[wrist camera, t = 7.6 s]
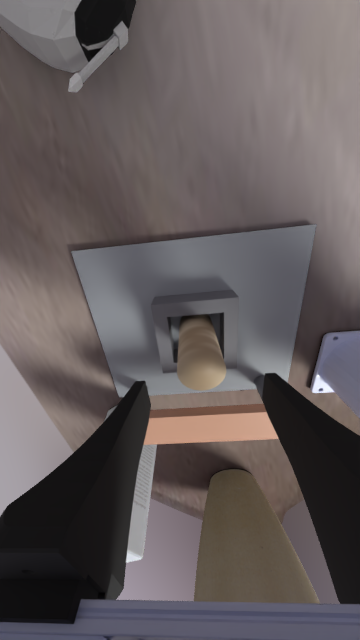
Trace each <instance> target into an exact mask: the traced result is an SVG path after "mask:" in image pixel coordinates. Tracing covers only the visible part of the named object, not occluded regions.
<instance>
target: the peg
mask: <svg viewBox="0 0 360 640" xmlns="http://www.w3.org/2000/svg"><path fill="white" fill-rule="evenodd" d="M177 375H178V378H179V380H180V381H181V383H182V384H183V385H185V386H186V387H188V388H190V389H193V390H199V391H203V390H209V389H212V388H214V387H216V386H218V385H219V384H220V383H221V382H222V381H223V380H224V378H225V376H226V365H225V362H224V359H223V356H222V353H221V349H220V346H219V343H218V340H217V337H216V333H215V330H214V327H213V324H212V321H211V318H210V316H209V315H208V314H199V315H188V316H182V318H181V320H180V324H179V344H178V363H177Z"/></svg>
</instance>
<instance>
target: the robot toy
mask: <svg viewBox="0 0 360 640" xmlns="http://www.w3.org/2000/svg"><path fill="white" fill-rule="evenodd" d="M135 4H136V0H0V27H1V28H2V29H3V30H4V31H5V32H6V33H8V34H9V35H10V36H11V37H12V38H13V39H14V40H15V41H16V42H17V43H19V44H20V45H21V46H22V47H23V48H24V49H26V50H27V51H29V52H30V53H31V54H33V55H34V56H35V57H37V58H38V59H40V60H41V61H42V62H44V63H46V64H48V65H49V66H51V67H53V68H56V69H60V70H64V71H68V72H71V73H74V72H76V73H75V74H74V75H73V76H72V77H71V78H70V81H69V89H68V91H69V92H78V91H79V90H80V89H81V88H82V87H83V83H84V82H85V81H86V79H87V78H88V77H89V76H90V75H91V74H92V73H93V72H94V71H95V70H96V69H97V68H98V67H99V66H100V65H101V64H102V63H103V62H104V61H105V60H106V59H107V57H108V56H110V55H112V54H113V52H114V50H115V49H116V48H117V47H118V48H119V50H121V49H122V48H123V47H124V46H125V45H126V44H127V43H128V28H129V26H130V22H131V18H132V14H133V11H134V7H135ZM80 70H81V71H80ZM77 71H80V72H79V73H77Z"/></svg>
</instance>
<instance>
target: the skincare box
mask: <svg viewBox="0 0 360 640" xmlns="http://www.w3.org/2000/svg"><path fill="white" fill-rule="evenodd" d="M116 407H117V406H115V407H113V408H112V409H110V410H109V411H108V413H107V415H106V418H105V420H106V419H107V418H108V416H109V415H110V414H111V413H112V412H113V410H114V409H115V408H116ZM105 420H104V421H105ZM156 449H157V444H151V445H143V449H142V453H141V457H140V462H139V467H138V472H137V478H136V485H135V492H134V499H133V507H132V514H131V522H130V531H129V539H128V548H127V558H126V563H127V562H131V561H136V560H140V559H142V558H143V554H144V545H145V536H146V528H147V520H148V511H149V504H150V496H151V488H152V480H153V472H154V464H155V456H156Z"/></svg>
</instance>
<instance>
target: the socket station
mask: <svg viewBox="0 0 360 640" xmlns="http://www.w3.org/2000/svg"><path fill="white" fill-rule="evenodd" d="M316 225H317V224H313V225H303V226H294V227H285V228H276V229H267V230H258V231H249V232H240V233H231V234H222V235H213V236H204V237H195V238H186V239H177V240H168V241H159V242H150V243H140V244H131V245H122V246H113V247H104V248H95V249H86V250H77V251H71V253H72V256H73V259H74V262H75V265H76V268H77V271H78V274H79V277H80V280H81V283H82V286H83V289H84V292H85V295H86V298H87V301H88V305H89V308H90V311H91V314H92V317H93V320H94V323H95V326H96V329H97V332H98V335H99V338H100V341H101V344H102V347H103V350H104V353H105V356H106V359H107V362H108V365H109V368H110V371H111V374H112V377H113V381H114V384H115V387H116V390H117V393H118V396H119V397H124V396H125V395H126V393H127V392H128V391H129V389H130V388H131V386H132V385H133V384H134V382H135V381H145V382H146V386H147V390H148V394H149V396H151V395H167V394H184V393H200V392H217V391H233V390H250V389H257V390H258V392H259V394H260V396H261V399H262V393H263V385H264V376H265V373H276V374H278V375H279V376H280V377H281V378H282V379H284V380H285V381H286V382H288V377H289V371H290V366H291V360H292V355H293V350H294V344H295V339H296V333H297V328H298V322H299V317H300V312H301V306H302V301H303V295H304V290H305V285H306V279H307V274H308V268H309V263H310V257H311V252H312V247H313V241H314V236H315V230H316ZM199 314H208V315H209V316H210V318H211V321H212V324H213V327H214V330H215V333H216V337H217V340H218V343H219V346H220V349H221V353H222V356H223V359H224V362H225V365H226V376H225V378H224V380H223V381H222V382H221V383H220V384H219V385H218V386H216V387H214V388H212V389H209V390H203V391H199V390H193V389H190V388H188V387H186V386H185V385H183V384H182V383H181V381H180V380H179V378H178V375H177V363H178V344H179V324H180V320H181V318H182V316H188V315H199ZM262 401H263V400H262ZM264 439H279V438H278V436H277V434H276V432H275V430H274V428H273V425H272V423H271V421H270V419H269V417H268V415H267V412H266V409H265V406H264V404H252V405H234V406H216V407H198V408H180V409H162V410H150V416H149V423H148V427H147V432H146V436H145V440H144V445H151V444H174V443H196V442H219V441H241V440H264Z"/></svg>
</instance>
